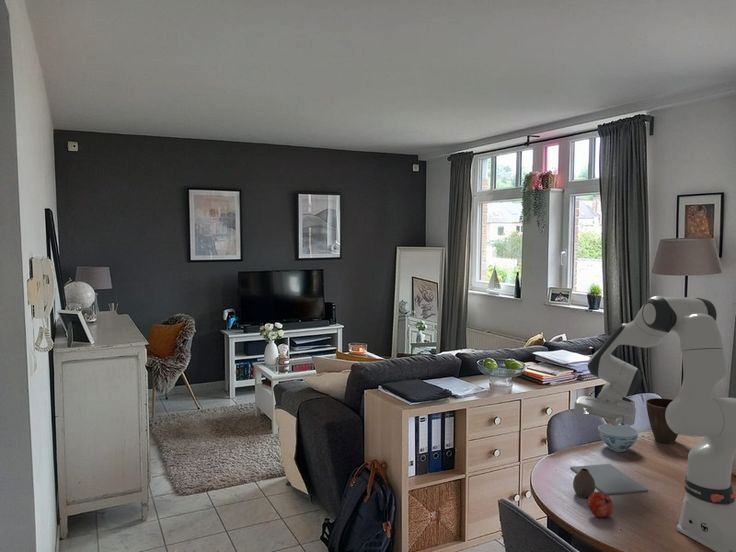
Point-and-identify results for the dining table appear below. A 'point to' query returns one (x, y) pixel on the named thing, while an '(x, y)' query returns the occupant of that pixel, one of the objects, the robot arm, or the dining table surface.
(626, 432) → the chinaware
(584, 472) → the vase
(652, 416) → the plant pot
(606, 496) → the pomegranate
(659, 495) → the dining table surface
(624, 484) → the mat
